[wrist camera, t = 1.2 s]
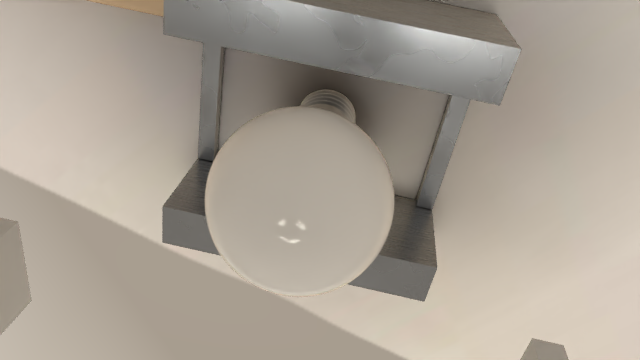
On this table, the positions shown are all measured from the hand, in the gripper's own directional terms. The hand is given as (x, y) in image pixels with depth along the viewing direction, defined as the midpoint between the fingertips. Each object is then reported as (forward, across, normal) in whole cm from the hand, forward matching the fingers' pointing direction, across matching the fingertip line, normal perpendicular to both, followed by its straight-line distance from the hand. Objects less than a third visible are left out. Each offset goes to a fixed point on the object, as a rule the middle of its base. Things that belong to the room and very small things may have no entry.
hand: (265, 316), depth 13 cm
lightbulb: (+13, 0, 0) cm, 13 cm away
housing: (+13, 0, 0) cm, 13 cm away
